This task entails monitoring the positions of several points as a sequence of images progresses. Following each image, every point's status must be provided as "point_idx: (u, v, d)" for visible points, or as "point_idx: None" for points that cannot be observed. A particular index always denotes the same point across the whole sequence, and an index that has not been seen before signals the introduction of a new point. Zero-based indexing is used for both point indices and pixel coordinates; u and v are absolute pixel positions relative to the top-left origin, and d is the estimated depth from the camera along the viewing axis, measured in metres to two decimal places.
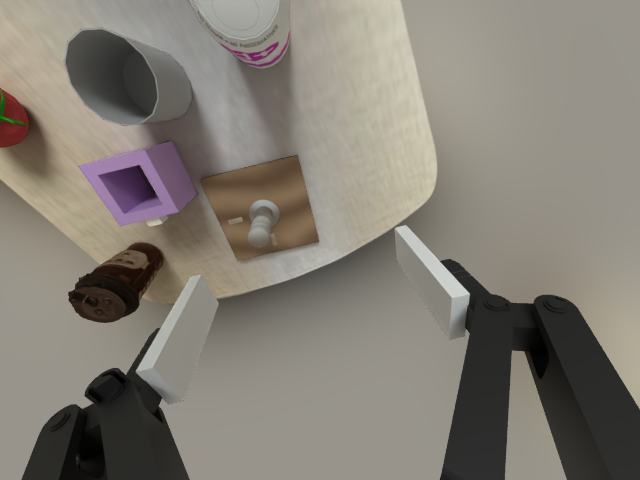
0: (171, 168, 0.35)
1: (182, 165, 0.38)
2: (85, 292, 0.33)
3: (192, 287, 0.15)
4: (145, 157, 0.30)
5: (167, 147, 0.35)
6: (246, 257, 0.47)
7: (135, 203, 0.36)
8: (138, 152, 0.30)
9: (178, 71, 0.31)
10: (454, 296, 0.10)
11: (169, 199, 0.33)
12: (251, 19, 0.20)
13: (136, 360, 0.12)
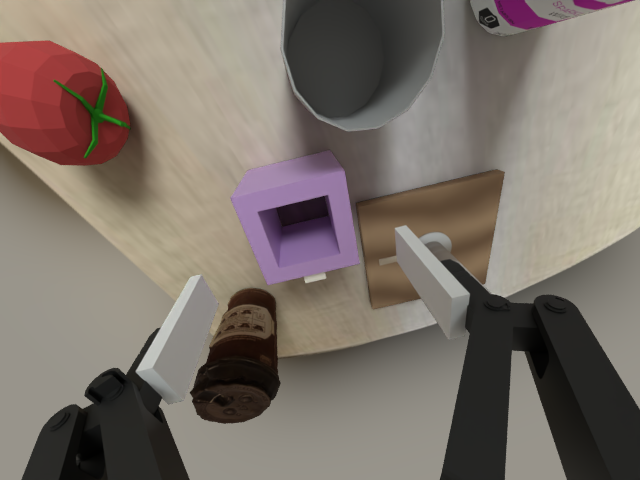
0: None
1: None
2: (219, 391, 0.21)
3: (192, 287, 0.15)
4: (341, 183, 0.18)
5: None
6: (385, 305, 0.35)
7: (279, 245, 0.24)
8: (333, 175, 0.18)
9: None
10: (454, 296, 0.10)
11: (353, 246, 0.21)
12: None
13: (136, 360, 0.12)
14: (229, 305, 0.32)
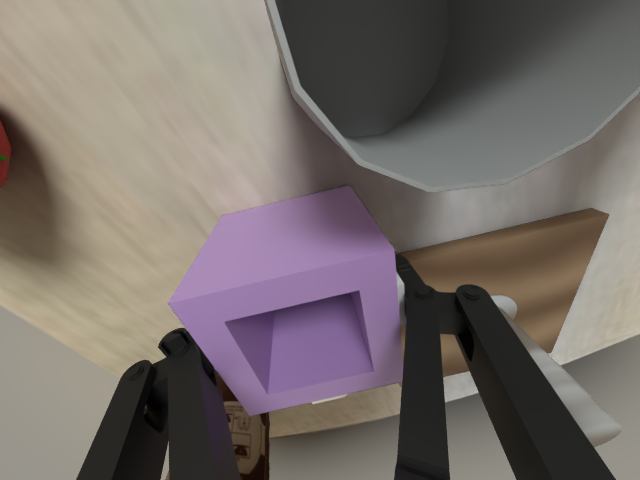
0: None
1: None
2: None
3: None
4: (386, 271, 0.09)
5: None
6: None
7: (270, 338, 0.15)
8: (372, 258, 0.09)
9: None
10: None
11: (396, 359, 0.12)
12: None
13: None
14: None
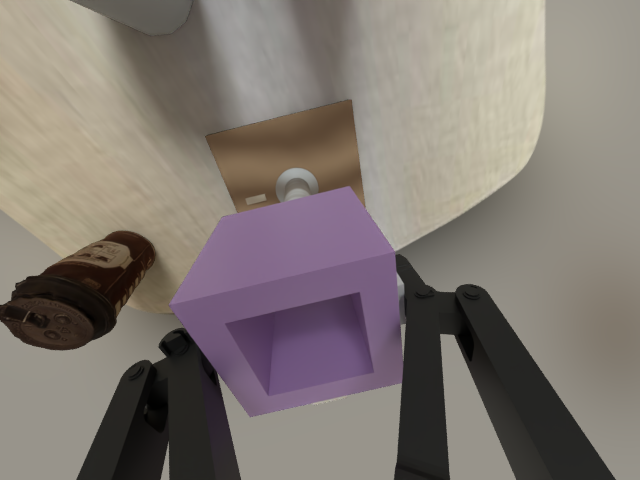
0: None
1: None
2: (24, 306, 0.21)
3: None
4: (387, 272, 0.09)
5: None
6: None
7: (270, 339, 0.15)
8: (372, 260, 0.09)
9: None
10: None
11: (396, 361, 0.12)
12: None
13: None
14: None
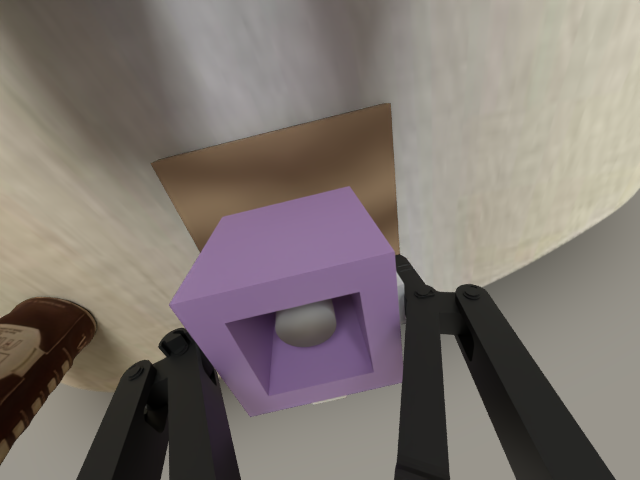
0: None
1: None
2: None
3: None
4: (387, 272, 0.09)
5: None
6: None
7: (270, 339, 0.15)
8: (372, 260, 0.09)
9: None
10: None
11: (396, 360, 0.12)
12: None
13: None
14: None
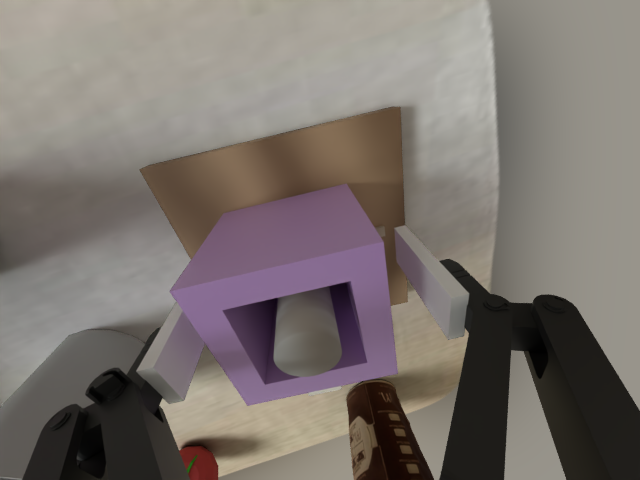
0: None
1: None
2: None
3: None
4: (376, 262, 0.10)
5: None
6: (404, 287, 0.21)
7: (268, 331, 0.16)
8: (362, 249, 0.09)
9: (51, 359, 0.20)
10: (453, 296, 0.10)
11: (389, 351, 0.12)
12: None
13: (136, 360, 0.12)
14: None
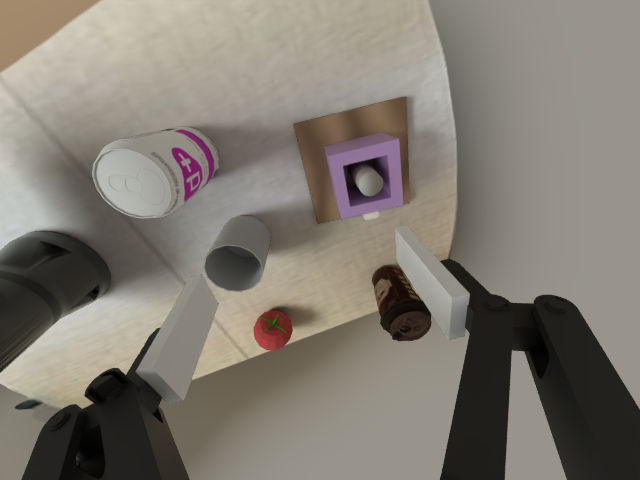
0: None
1: None
2: (394, 330, 0.40)
3: (192, 287, 0.15)
4: (396, 147, 0.29)
5: None
6: (407, 193, 0.41)
7: None
8: (392, 141, 0.29)
9: (231, 223, 0.40)
10: (454, 296, 0.10)
11: (400, 191, 0.32)
12: (153, 175, 0.24)
13: (136, 360, 0.12)
14: None
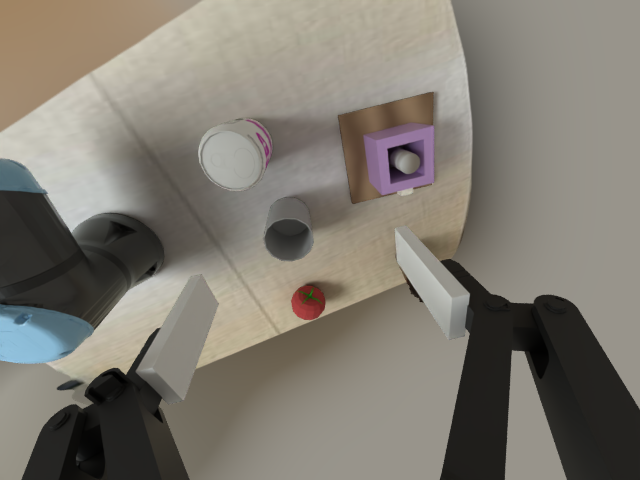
0: None
1: None
2: None
3: (192, 287, 0.15)
4: (431, 132, 0.36)
5: None
6: None
7: None
8: (428, 128, 0.35)
9: (280, 203, 0.46)
10: (454, 296, 0.10)
11: (432, 170, 0.38)
12: (247, 153, 0.30)
13: (136, 360, 0.12)
14: None
